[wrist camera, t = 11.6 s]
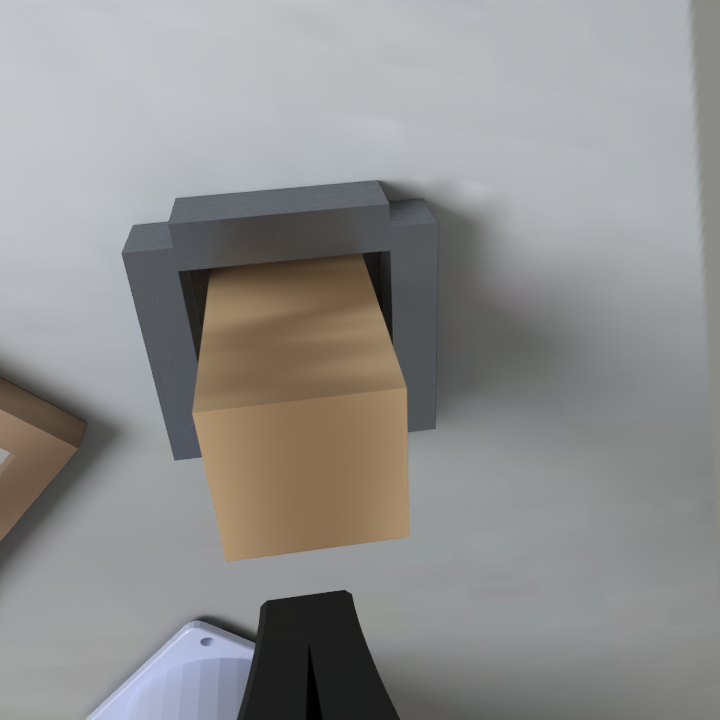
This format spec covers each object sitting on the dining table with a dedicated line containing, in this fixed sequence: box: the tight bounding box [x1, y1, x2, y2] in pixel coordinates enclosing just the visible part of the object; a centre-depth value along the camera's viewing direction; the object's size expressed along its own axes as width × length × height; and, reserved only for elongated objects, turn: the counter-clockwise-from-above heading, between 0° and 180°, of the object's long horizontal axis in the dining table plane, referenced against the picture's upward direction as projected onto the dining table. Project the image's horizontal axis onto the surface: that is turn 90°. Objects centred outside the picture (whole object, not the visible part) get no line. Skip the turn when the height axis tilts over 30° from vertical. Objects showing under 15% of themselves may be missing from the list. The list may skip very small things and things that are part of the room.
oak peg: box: [192, 253, 409, 562], centre depth 17 cm, size 4×4×7 cm
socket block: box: [122, 180, 438, 460], centre depth 19 cm, size 8×8×2 cm
